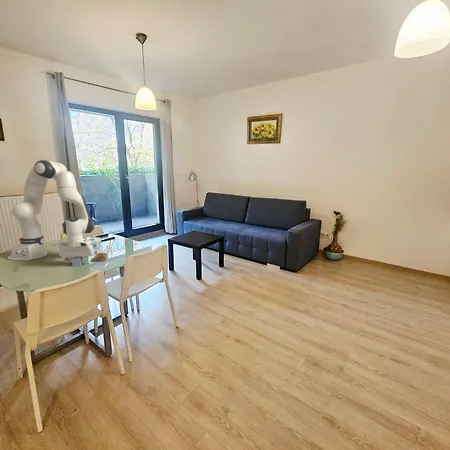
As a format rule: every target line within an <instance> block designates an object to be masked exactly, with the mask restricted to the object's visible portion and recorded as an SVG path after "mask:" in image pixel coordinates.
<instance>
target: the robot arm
mask: <svg viewBox="0 0 450 450" xmlns="http://www.w3.org/2000/svg"><path fill="white" fill-rule="evenodd" d="M70 169H71V168H70V167H69V166H68V165H66V164H65V163H62V162H58V161H54V160H44V159H42V160H41V159H40V160H38V161H36V162H35V163H34V165H33V167H32V168H31V169H30V170H29V173H28V175H27V176H26V180H25V184H24V187H23V194H24V195H23V196H24V198H23V200H22V202H18V203H16V204H15V205H14V206H13V207H12V208H11V214H12V216H13V217H14V218H15V219H16V220H17V222H18V224H19V226H20V232H21V237H20V238H19V239H18V242H19V243H18V244H17V245H15V246H14V247H13V248H12V249H11V253H10V255H9V256H8V257H7V260H11V261H31V260H36V259H41V258H44V257H46V256H47V255H49V253H48V252H47V249H46V247H45V246H46V245H45V240H44V235H43V231H42V226H41V223H40V222H39V221H38V219H37V215H39V214H40V213H42V212H43V209H44V205H43V204H44V203H43V201H44V195H45V191H46V188H47V185H48V182H49V179H53V180H55V182H56V191H57V194H58V195H57V196H58V197H59V198H60V199H61V200H63V201H65V202H68V203H72V204H75V205H77V206H78V207H79V208H80V210H81V213H82V216H83V218H79V216H78V217H77V216H70V217H67V218H66V219H65V221H64V222H63V223H62V224H61V225H62V226H61V227H62V234H65V235H66V236H67V237H66V240H67V241H65V242H64V241H63V242H60V243H58V255H59V257H61V258H62V257H67V258H68V259H69V261H70V264H72V260H71V259H72V258H71V257H73V256H82V258H83V259H82V260H81V263H83V264H85V262H86V261H85V259H86V258H87V257H93V256H94V255H93V254H94V249H93V246H92V245H91V240H87V239H88V238H87V239H86V238H84V236H83V234H91V233H92V232H93V231H94V230H95V224H94V221H93V219H92V216H91V214H90V211H89V208H88V207H89V206H88V204H87V202H86V199H85V197H84V196H83V195H82V194H80V193H79V190H78V189H77V183H76V179H75V176H74V173H73V172H71V170H70ZM92 255H93V256H92Z"/></svg>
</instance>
